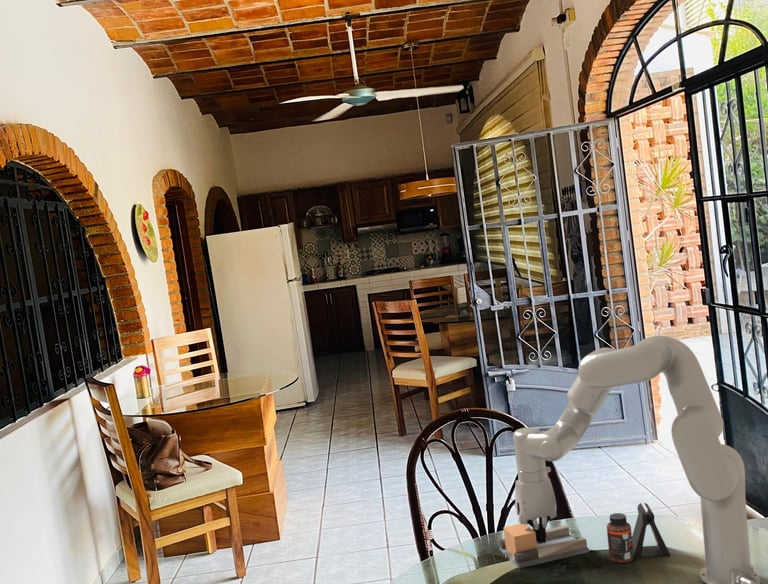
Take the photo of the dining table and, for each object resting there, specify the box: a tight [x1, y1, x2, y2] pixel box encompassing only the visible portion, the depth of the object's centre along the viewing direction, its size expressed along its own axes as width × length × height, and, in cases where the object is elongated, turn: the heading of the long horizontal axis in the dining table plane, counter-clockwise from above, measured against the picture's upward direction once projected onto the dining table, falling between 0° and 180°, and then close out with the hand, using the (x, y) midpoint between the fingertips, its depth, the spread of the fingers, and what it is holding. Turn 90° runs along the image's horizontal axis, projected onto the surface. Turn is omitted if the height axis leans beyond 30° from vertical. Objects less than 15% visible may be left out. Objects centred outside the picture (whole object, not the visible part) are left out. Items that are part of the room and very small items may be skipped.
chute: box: [498, 524, 590, 569], centre depth 198 cm, size 13×20×3 cm, turn 104°
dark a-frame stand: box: [632, 502, 671, 559], centre depth 189 cm, size 9×6×12 cm, turn 82°
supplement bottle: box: [606, 512, 635, 564], centre depth 187 cm, size 6×6×11 cm
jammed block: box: [503, 523, 537, 556], centre depth 196 cm, size 7×6×6 cm
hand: (540, 541), depth 197 cm, fingers closed
